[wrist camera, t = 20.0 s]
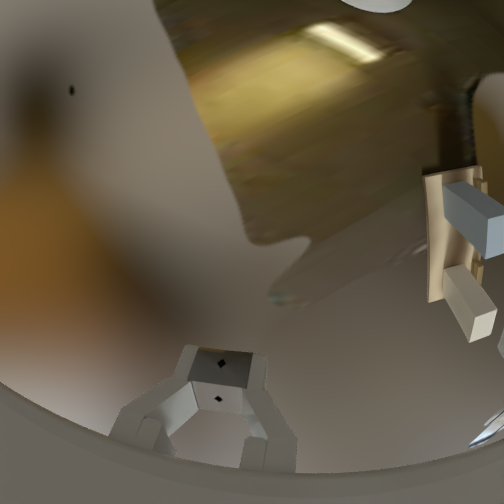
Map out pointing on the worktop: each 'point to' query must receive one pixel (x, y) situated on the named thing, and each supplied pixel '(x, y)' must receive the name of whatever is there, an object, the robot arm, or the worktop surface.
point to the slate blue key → (475, 217)
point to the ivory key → (468, 302)
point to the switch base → (448, 230)
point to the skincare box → (501, 344)
